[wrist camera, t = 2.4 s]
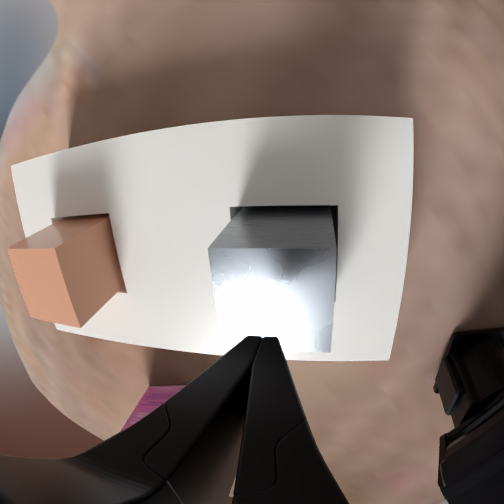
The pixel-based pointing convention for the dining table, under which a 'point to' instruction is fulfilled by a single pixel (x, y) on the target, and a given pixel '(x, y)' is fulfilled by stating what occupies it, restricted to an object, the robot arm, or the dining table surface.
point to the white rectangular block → (225, 208)
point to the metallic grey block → (276, 276)
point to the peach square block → (68, 269)
